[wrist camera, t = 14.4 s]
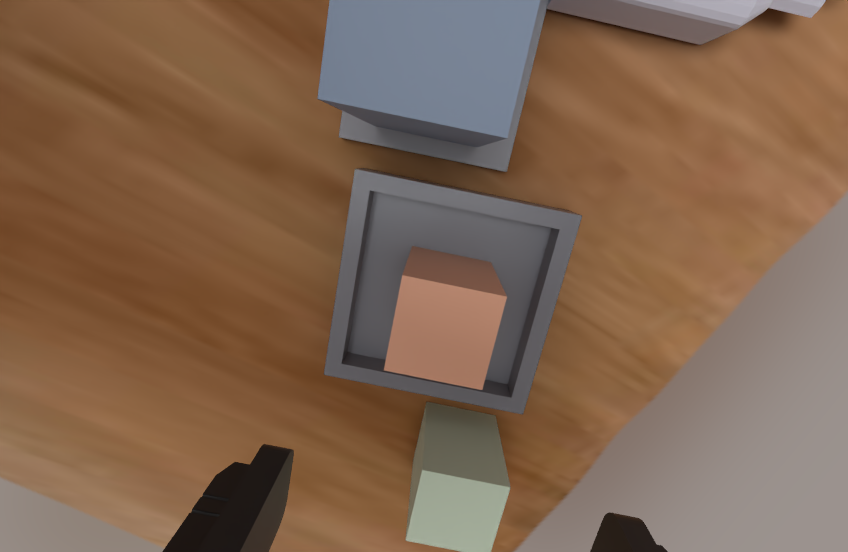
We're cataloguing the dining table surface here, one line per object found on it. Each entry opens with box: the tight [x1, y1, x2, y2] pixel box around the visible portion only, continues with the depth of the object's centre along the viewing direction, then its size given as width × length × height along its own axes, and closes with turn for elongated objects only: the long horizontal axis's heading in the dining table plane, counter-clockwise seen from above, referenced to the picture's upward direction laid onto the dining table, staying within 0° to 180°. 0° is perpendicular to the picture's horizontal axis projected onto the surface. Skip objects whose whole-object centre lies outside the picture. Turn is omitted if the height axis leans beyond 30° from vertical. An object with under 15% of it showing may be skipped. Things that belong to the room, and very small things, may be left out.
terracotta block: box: [384, 246, 507, 390], centre depth 24 cm, size 5×5×7 cm
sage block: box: [406, 402, 510, 552], centre depth 28 cm, size 5×5×7 cm
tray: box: [324, 168, 582, 414], centre depth 27 cm, size 13×13×2 cm
